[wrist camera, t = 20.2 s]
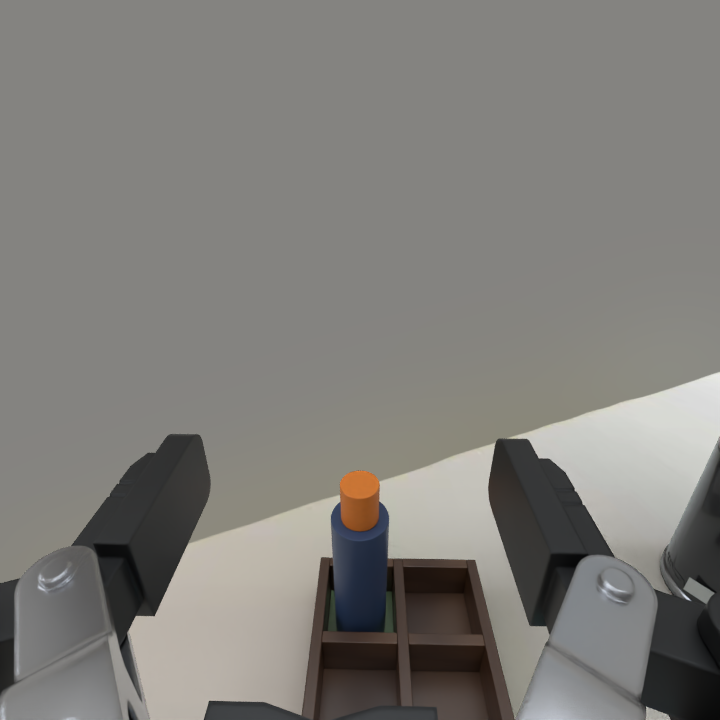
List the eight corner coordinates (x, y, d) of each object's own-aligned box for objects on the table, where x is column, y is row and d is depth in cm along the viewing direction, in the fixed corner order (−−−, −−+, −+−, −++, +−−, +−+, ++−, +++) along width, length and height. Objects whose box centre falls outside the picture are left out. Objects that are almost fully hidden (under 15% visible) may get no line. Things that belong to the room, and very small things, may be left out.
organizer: (469, 589, 38) (475, 559, 36) (513, 788, 26) (524, 759, 25) (323, 587, 38) (321, 556, 37) (301, 782, 27) (297, 752, 25)
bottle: (384, 599, 37) (388, 463, 30) (385, 649, 33) (391, 507, 26) (337, 599, 37) (331, 463, 30) (334, 648, 33) (326, 506, 26)
